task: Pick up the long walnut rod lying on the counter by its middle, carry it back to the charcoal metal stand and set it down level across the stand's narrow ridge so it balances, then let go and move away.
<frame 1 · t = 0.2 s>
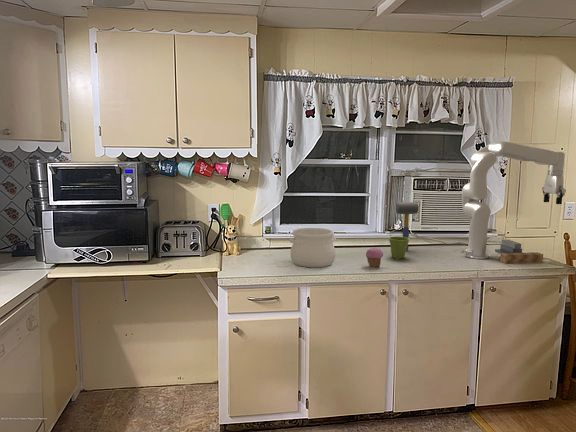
hand: (552, 203, 245), 31 cm above the worktop, tool pointing down, fingers open, 9 cm apart
pot: (312, 263, 229), on the worktop
rubber mallet: (405, 250, 260), on the worktop
fulcrum stand: (510, 254, 251), on the worktop
plant pot: (398, 257, 242), on the worktop
walnut rod: (521, 262, 233), on the worktop
cupcake: (373, 266, 223), on the worktop
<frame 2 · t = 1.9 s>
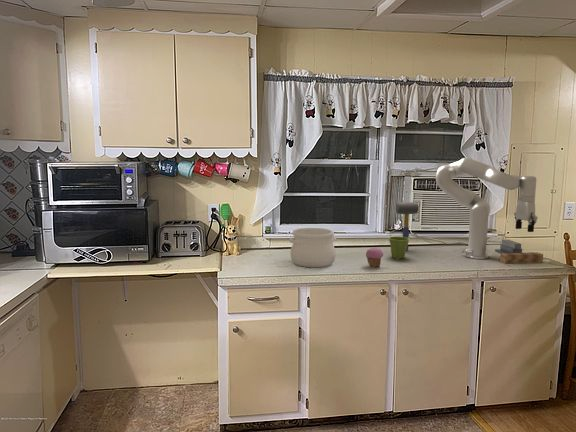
hand: (524, 230, 230), 18 cm above the worktop, tool pointing down, fingers open, 9 cm apart
nothing on the worktop moved.
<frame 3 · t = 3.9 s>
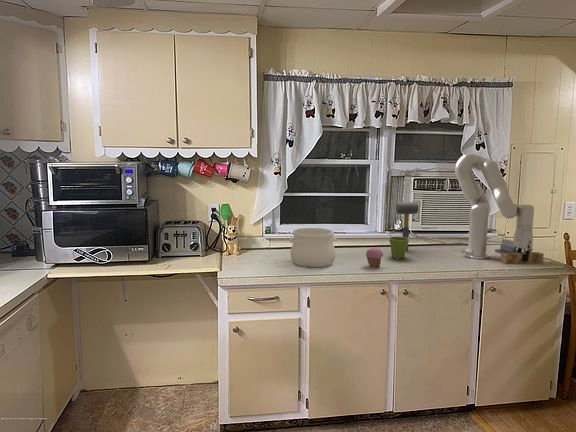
hand: (522, 259, 232), 1 cm above the worktop, tool pointing down, fingers closed on walnut rod, 4 cm apart
walnut rod: (521, 262, 233), on the worktop, touching gripper
everything else where it was.
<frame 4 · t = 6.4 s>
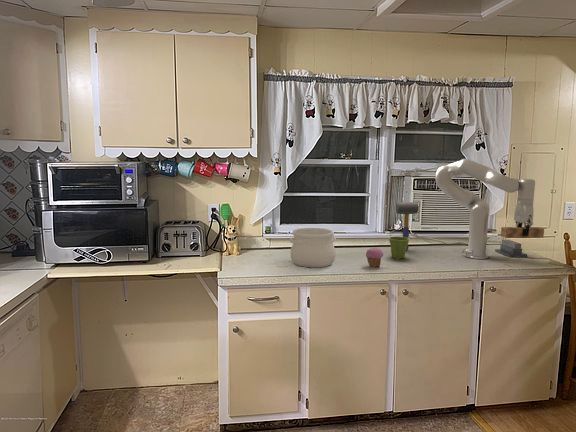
hand: (522, 234, 232), 15 cm above the worktop, tool pointing down, fingers closed on walnut rod, 4 cm apart
walnut rod: (521, 236, 232), point 14 cm above the worktop, touching gripper
everything else where it was.
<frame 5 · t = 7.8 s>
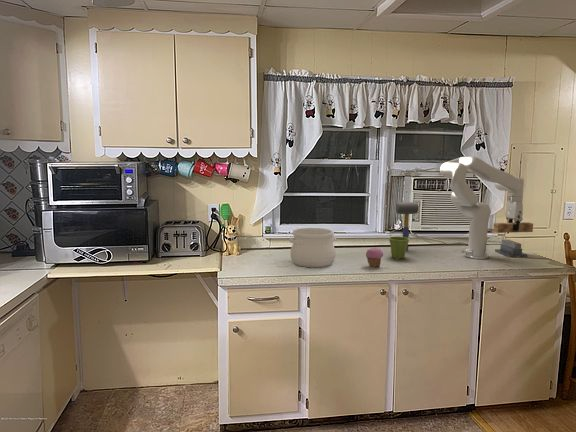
hand: (512, 229, 249), 15 cm above the worktop, tool pointing down, fingers closed on walnut rod, 4 cm apart
walnut rod: (512, 231, 249), point 14 cm above the worktop, touching gripper
everything else where it was.
when the fingers open (10 cm above the worktop, at t = 9.0 s): walnut rod stays where it is, resting on fulcrum stand.
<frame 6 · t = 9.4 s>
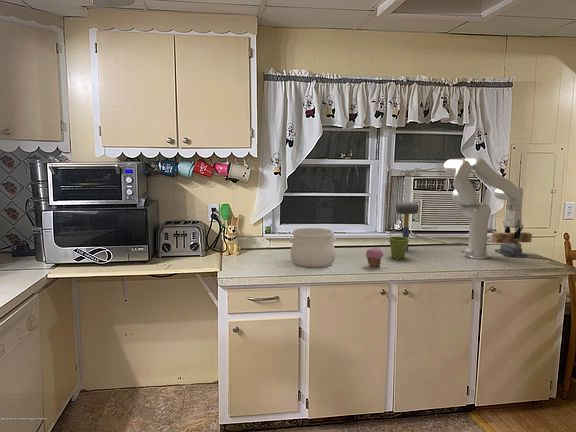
hand: (511, 236, 250), 10 cm above the worktop, tool pointing down, fingers open, 8 cm apart
walnut rod: (511, 241, 250), point 7 cm above the worktop, touching fulcrum stand
everything else where it was.
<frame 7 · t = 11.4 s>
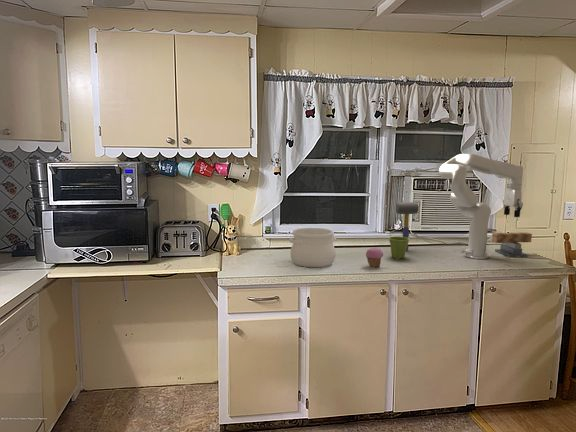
hand: (511, 215, 249), 23 cm above the worktop, tool pointing down, fingers open, 9 cm apart
nothing on the worktop moved.
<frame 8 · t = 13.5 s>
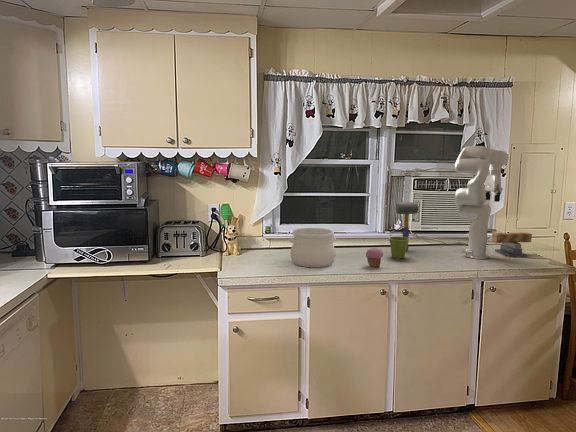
hand: (492, 200, 262), 30 cm above the worktop, tool pointing down, fingers open, 9 cm apart
nothing on the worktop moved.
at the end: walnut rod inside the target area on the fulcrum stand (0.1 cm from its centre), point 7.5 cm above the fulcrum stand's base; walnut rod tilted 0°; the gripper is holding nothing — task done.
